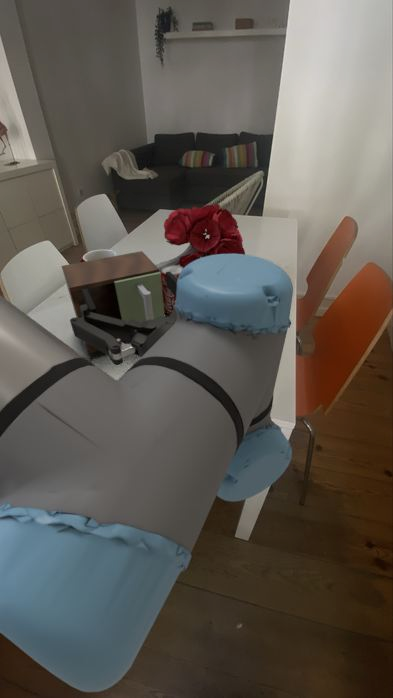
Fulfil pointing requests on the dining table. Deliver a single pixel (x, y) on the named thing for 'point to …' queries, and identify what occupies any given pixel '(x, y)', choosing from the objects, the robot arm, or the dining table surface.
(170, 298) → the soda can
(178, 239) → the bouquet
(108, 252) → the mug
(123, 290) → the sliding door
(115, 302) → the wardrobe
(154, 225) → the dining table surface
